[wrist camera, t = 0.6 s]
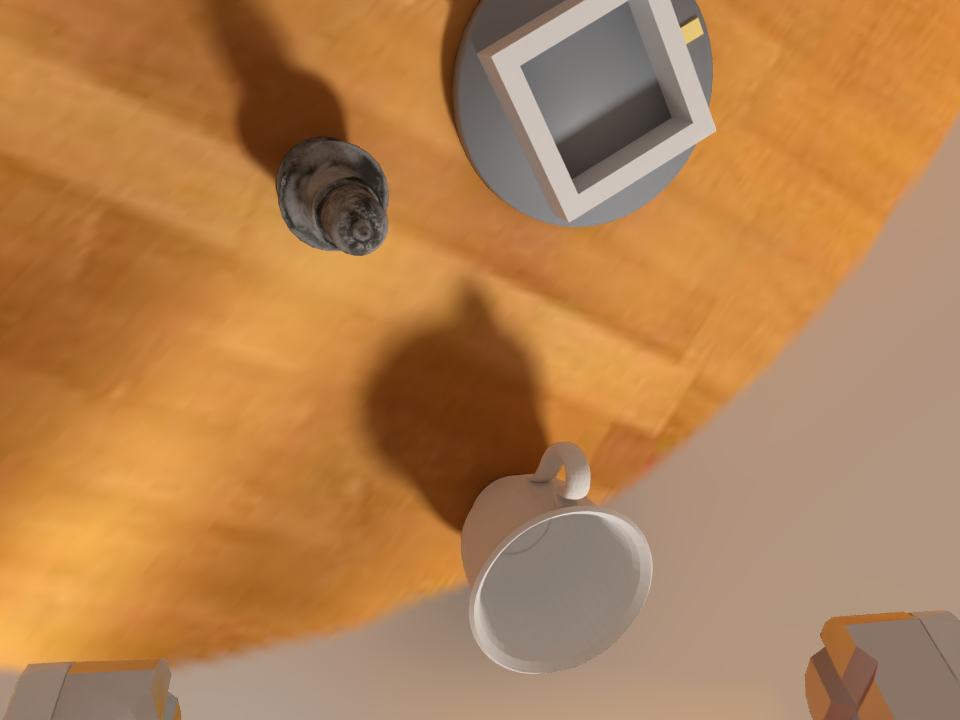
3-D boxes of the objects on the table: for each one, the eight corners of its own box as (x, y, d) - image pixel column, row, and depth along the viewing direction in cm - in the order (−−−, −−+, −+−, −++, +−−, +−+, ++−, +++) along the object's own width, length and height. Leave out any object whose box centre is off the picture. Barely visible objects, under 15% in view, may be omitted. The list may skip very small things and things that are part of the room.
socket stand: (402, 30, 49) (420, 33, 45) (644, -114, 50) (681, -122, 47) (523, 268, 56) (548, 287, 53) (732, 138, 58) (769, 148, 54)
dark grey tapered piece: (254, 211, 50) (279, 270, 39) (296, 113, 49) (333, 146, 38) (350, 250, 52) (397, 315, 42) (391, 158, 51) (451, 201, 41)
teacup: (605, 391, 62) (678, 457, 53) (575, 574, 67) (637, 663, 58) (437, 397, 58) (486, 469, 49) (419, 591, 63) (460, 688, 54)
